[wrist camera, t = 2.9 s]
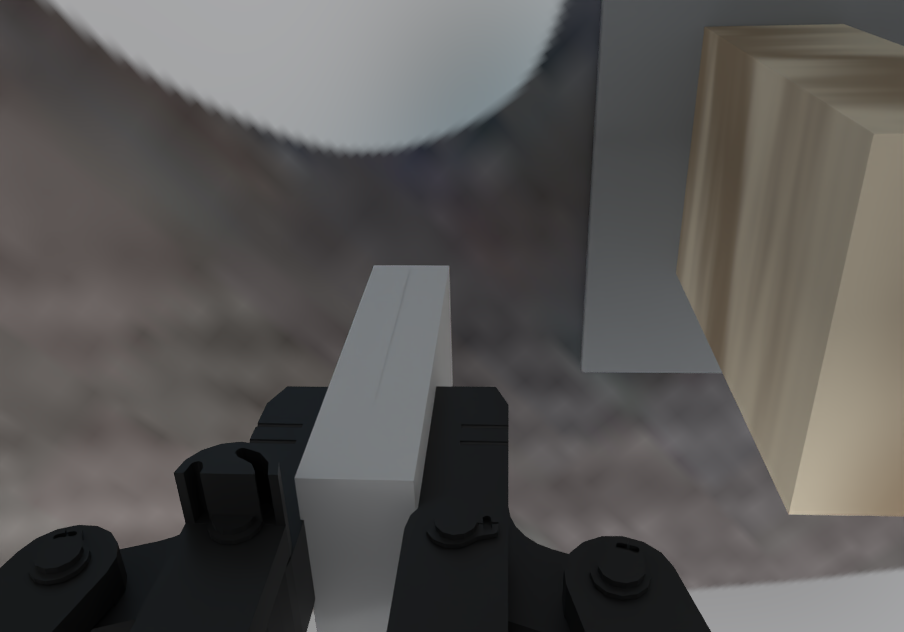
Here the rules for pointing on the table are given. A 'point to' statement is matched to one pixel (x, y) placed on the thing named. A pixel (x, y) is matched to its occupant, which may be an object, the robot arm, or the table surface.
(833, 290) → the maple block
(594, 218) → the rubber mat
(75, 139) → the table surface
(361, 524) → the robot arm
